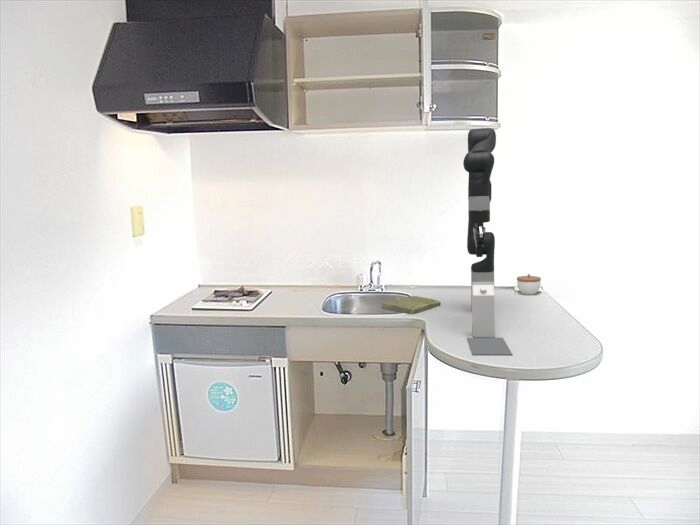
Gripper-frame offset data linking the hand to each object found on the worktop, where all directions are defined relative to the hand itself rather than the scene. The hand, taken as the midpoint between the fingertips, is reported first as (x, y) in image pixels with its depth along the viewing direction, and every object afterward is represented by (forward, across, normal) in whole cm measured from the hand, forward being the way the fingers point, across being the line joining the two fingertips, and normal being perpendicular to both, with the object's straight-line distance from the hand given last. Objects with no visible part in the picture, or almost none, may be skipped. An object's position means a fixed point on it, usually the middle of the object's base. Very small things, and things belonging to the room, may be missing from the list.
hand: (479, 256), depth 187 cm
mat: (+26, +24, 0) cm, 35 cm away
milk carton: (+27, +10, 0) cm, 29 cm away
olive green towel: (+27, -34, -26) cm, 51 cm away
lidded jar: (+26, -60, +30) cm, 72 cm away
